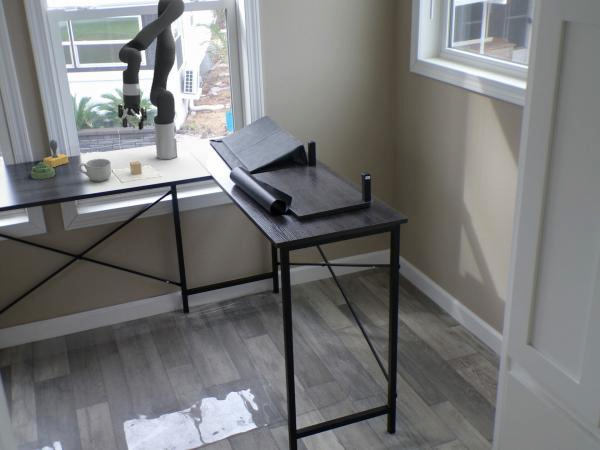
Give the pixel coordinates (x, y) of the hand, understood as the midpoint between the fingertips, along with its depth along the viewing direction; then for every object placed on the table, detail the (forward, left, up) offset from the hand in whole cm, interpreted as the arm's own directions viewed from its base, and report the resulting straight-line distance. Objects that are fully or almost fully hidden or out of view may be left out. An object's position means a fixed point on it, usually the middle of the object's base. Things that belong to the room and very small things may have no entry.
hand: (133, 128), depth 308 cm
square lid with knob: (+3, +10, -19) cm, 22 cm away
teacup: (+21, +10, -19) cm, 30 cm away
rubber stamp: (+33, -20, -19) cm, 43 cm away
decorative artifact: (+41, -6, -19) cm, 45 cm away
